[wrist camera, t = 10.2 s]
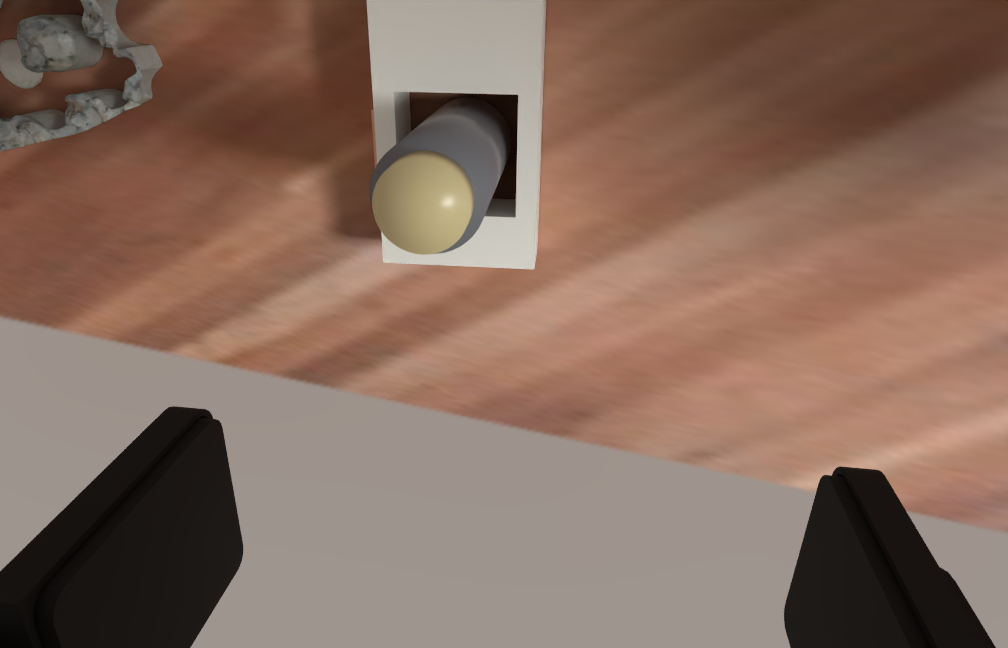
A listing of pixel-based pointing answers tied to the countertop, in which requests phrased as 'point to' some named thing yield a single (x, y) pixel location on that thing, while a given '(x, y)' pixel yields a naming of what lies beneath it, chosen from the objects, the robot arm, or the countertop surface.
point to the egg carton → (67, 48)
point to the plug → (441, 177)
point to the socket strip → (465, 69)
